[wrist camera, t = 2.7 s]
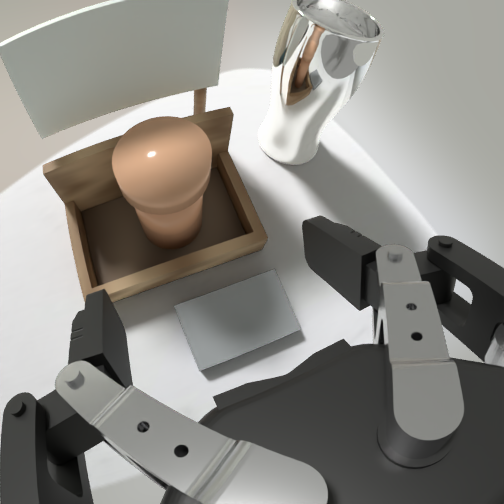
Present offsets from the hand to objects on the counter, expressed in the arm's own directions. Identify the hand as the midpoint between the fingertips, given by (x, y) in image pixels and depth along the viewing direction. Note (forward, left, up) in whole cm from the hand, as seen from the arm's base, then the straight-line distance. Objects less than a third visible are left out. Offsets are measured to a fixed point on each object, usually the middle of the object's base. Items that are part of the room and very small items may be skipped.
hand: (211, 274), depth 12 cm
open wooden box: (-1, +10, -12) cm, 16 cm away
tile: (+2, -1, -12) cm, 12 cm away
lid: (-1, +15, -5) cm, 16 cm away
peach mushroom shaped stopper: (0, +8, -12) cm, 14 cm away
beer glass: (+13, +13, -12) cm, 22 cm away
